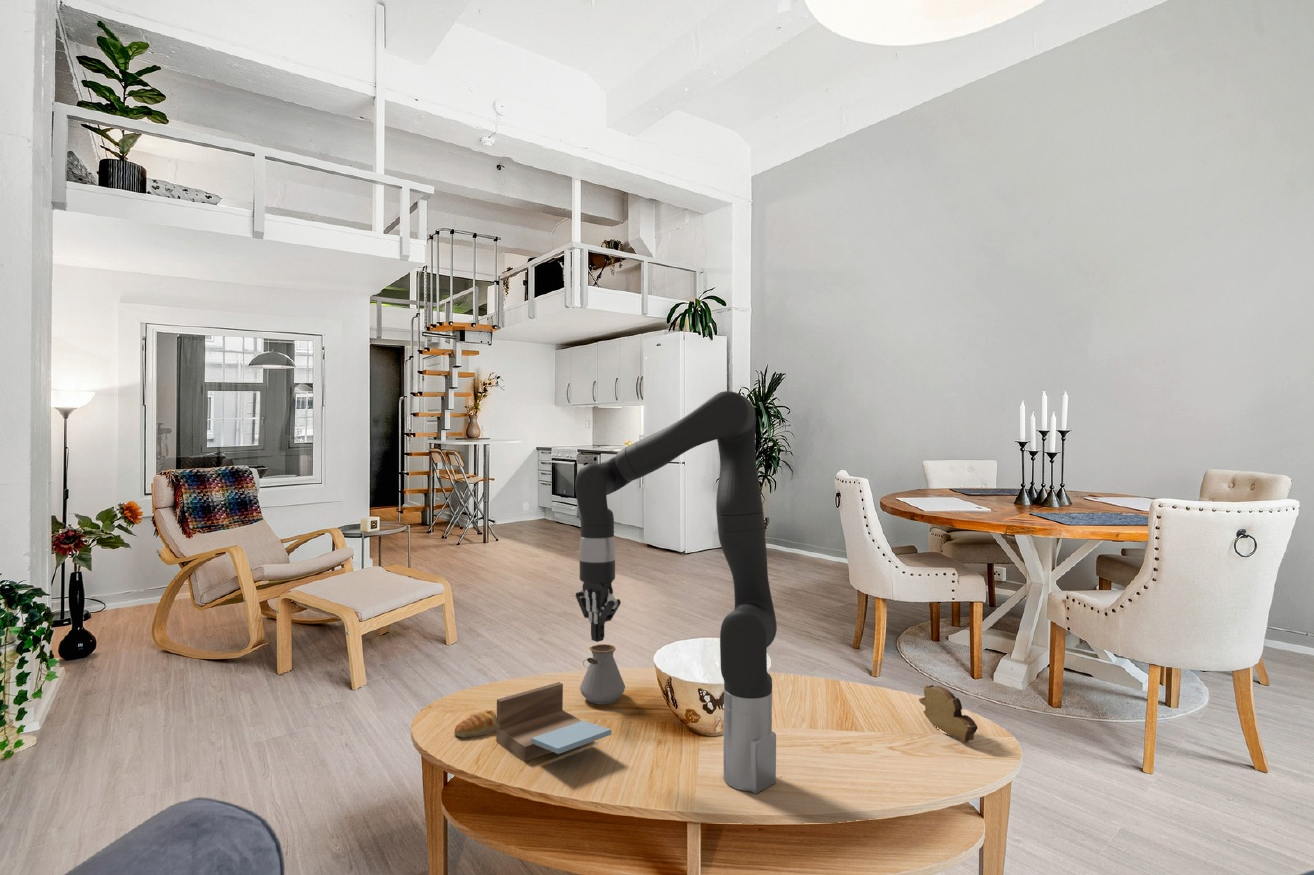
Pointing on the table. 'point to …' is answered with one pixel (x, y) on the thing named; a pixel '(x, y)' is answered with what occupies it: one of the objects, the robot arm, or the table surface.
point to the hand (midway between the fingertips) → (597, 640)
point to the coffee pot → (602, 676)
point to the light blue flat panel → (571, 736)
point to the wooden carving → (947, 713)
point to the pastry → (477, 724)
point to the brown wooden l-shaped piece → (531, 719)
